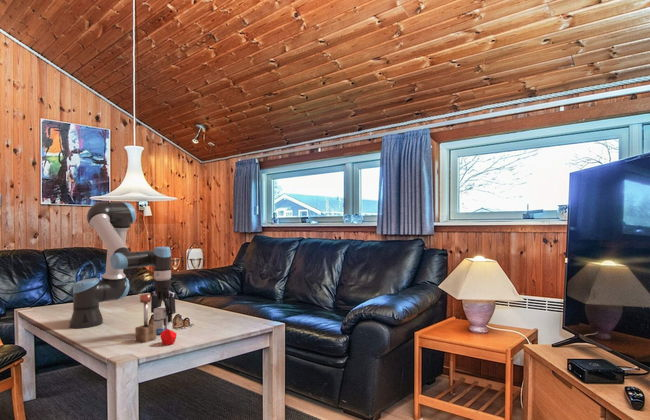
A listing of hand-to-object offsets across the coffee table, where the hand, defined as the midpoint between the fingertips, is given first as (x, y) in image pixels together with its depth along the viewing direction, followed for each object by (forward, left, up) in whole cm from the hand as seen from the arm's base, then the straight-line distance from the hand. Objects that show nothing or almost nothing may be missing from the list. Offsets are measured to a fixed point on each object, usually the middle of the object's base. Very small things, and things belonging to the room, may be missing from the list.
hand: (163, 328), depth 197 cm
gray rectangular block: (+2, +12, -2) cm, 12 cm away
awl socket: (+2, -12, -2) cm, 13 cm away
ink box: (0, 0, -2) cm, 2 cm away
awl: (+2, -12, +3) cm, 13 cm away
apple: (+16, -13, -2) cm, 21 cm away
